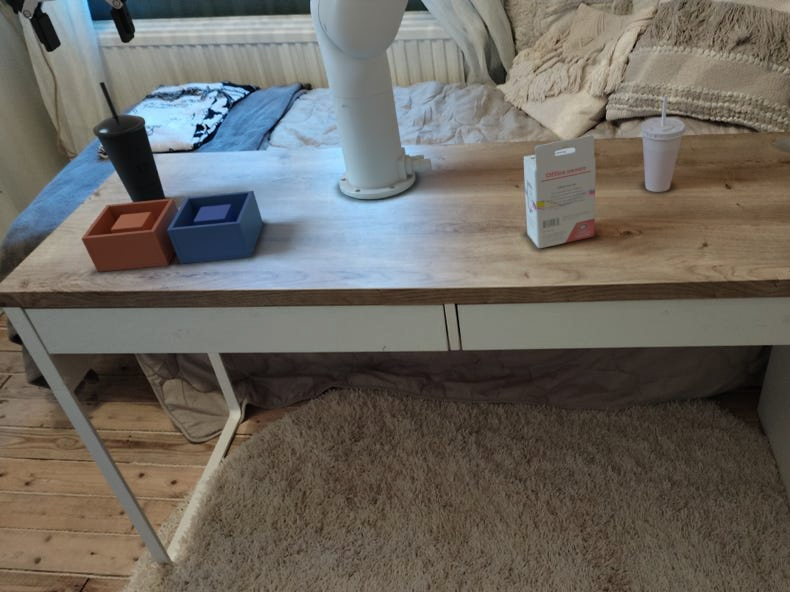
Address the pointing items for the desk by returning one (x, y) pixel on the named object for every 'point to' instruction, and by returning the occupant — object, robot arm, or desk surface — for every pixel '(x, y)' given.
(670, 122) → the smoothie
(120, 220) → the terracotta block
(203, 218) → the blue block
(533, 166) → the ink cartridge box
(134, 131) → the drinking cup
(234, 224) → the blue bin
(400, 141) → the robot arm
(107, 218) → the terracotta bin
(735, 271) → the desk surface
